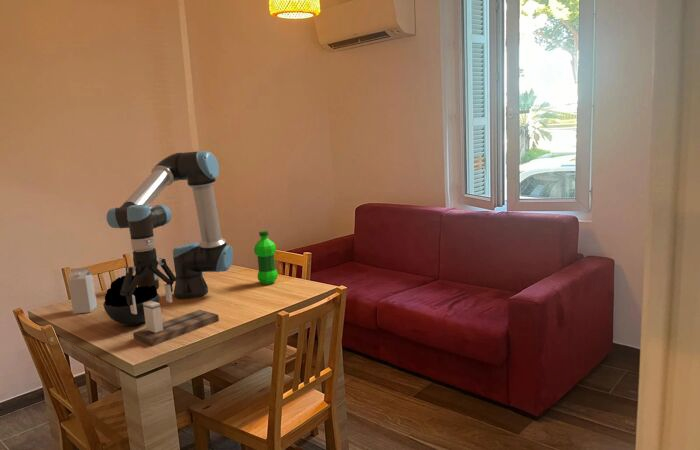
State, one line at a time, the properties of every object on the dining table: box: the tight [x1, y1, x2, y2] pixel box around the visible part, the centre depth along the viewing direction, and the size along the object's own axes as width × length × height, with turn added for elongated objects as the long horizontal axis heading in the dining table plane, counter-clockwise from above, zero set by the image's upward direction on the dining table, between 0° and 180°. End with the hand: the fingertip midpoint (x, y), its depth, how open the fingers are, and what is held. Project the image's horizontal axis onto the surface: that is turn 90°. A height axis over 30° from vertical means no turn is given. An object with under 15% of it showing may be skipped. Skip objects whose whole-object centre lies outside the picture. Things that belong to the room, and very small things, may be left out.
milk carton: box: [67, 266, 98, 315], centre depth 220 cm, size 7×7×19 cm
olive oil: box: [132, 257, 160, 289], centre depth 248 cm, size 11×11×25 cm
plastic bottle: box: [253, 230, 279, 285], centre depth 245 cm, size 10×10×25 cm
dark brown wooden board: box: [132, 309, 220, 347], centre depth 191 cm, size 28×12×3 cm, turn 141°
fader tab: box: [143, 301, 163, 333], centre depth 183 cm, size 3×6×10 cm, turn 51°
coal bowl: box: [103, 274, 160, 326], centre depth 200 cm, size 20×20×19 cm
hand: (152, 307), depth 183 cm, fingers open, 13 cm apart
